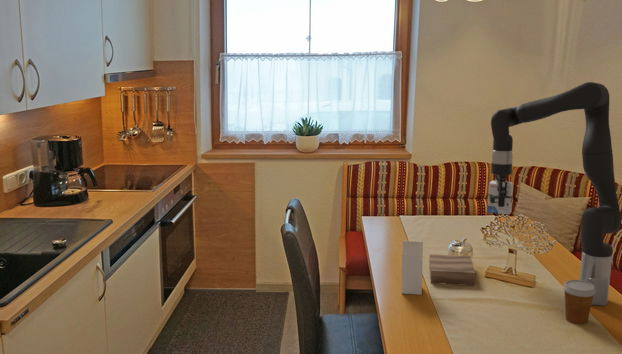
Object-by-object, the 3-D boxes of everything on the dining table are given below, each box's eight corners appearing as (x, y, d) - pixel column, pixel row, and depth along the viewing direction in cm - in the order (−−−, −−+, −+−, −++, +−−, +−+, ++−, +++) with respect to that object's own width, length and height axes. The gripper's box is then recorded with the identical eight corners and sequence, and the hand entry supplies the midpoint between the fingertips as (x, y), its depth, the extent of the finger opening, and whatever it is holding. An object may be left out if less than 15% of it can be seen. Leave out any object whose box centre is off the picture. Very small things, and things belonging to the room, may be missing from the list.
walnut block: (474, 285, 212) (474, 272, 211) (430, 283, 214) (431, 270, 213) (469, 267, 229) (470, 256, 228) (429, 266, 232) (429, 254, 231)
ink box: (486, 212, 220) (488, 182, 218) (489, 209, 224) (490, 180, 222) (509, 214, 216) (511, 184, 214) (512, 211, 220) (513, 182, 218)
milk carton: (421, 295, 204) (422, 244, 200) (401, 293, 205) (402, 243, 201) (421, 287, 211) (422, 238, 207) (402, 286, 212) (403, 237, 208)
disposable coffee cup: (565, 310, 189) (568, 276, 187) (596, 318, 183) (599, 283, 181) (556, 321, 182) (559, 286, 180) (588, 329, 176) (591, 293, 174)
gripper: (515, 165, 209) (513, 209, 212) (509, 158, 222) (507, 200, 226) (494, 165, 210) (492, 209, 213) (489, 158, 224) (487, 199, 227)
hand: (499, 204), depth 220 cm, fingers closed on ink box, 6 cm apart
